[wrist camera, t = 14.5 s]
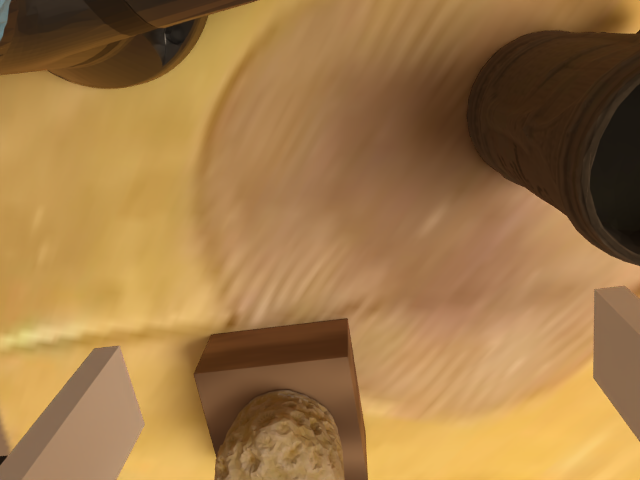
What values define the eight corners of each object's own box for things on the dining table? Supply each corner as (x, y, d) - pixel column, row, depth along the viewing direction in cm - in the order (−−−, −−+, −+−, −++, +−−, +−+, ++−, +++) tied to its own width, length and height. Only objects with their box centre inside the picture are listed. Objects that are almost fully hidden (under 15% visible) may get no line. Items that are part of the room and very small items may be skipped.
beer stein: (539, 214, 43) (712, 328, 24) (430, 136, 41) (524, 193, 22) (680, 41, 39) (1018, 14, 20) (567, -52, 38) (819, -178, 19)
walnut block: (211, 334, 48) (193, 374, 43) (347, 318, 47) (347, 356, 42) (239, 445, 52) (226, 494, 47) (365, 432, 51) (367, 481, 46)
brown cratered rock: (272, 493, 46) (259, 577, 39) (205, 416, 44) (179, 489, 37) (365, 447, 44) (370, 526, 37) (302, 363, 42) (293, 430, 35)
